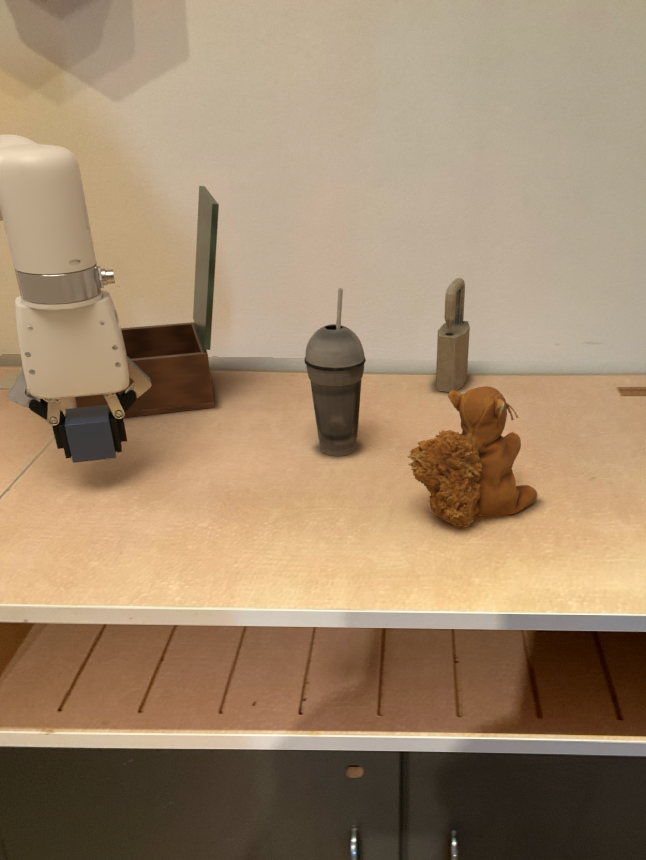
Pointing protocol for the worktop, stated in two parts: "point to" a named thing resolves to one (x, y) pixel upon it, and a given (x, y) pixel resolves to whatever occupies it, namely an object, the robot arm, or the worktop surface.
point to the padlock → (453, 341)
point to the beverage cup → (336, 384)
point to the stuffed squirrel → (473, 462)
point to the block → (89, 433)
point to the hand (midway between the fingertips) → (93, 448)
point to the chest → (165, 370)
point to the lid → (205, 265)
